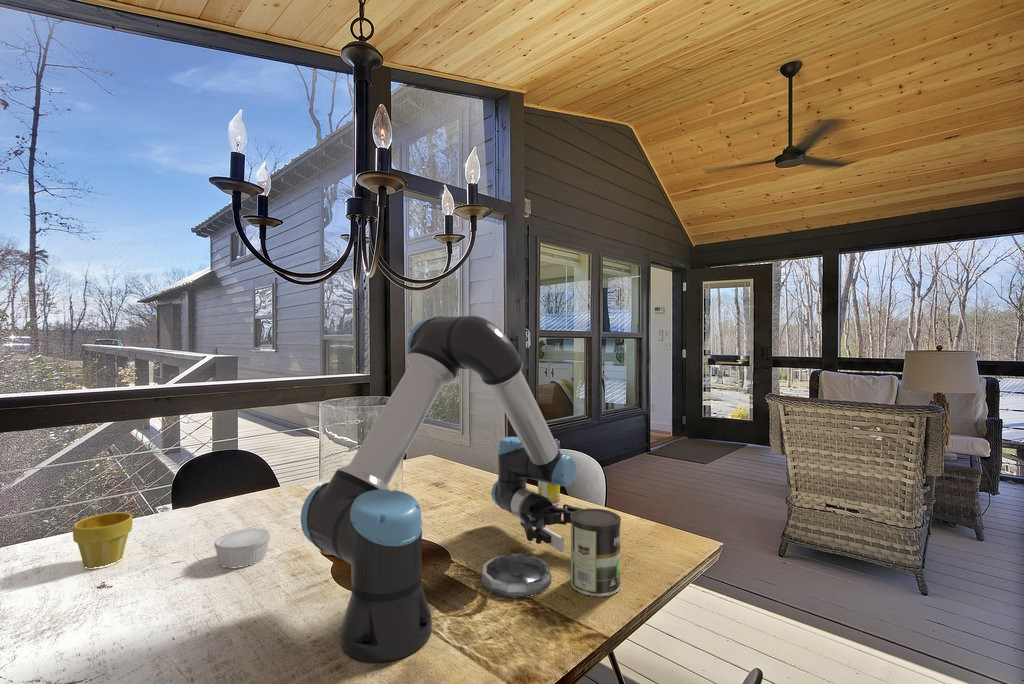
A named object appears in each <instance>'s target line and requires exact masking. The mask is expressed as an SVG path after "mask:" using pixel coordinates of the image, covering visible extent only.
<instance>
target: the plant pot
mask: <svg viewBox="0 0 1024 684" xmlns="http://www.w3.org/2000/svg"><path fill="white" fill-rule="evenodd" d="M132 529H133V514H132V513H129V512H125V511H124V512H123V511H115V512H106V513H101V514H94V515H92V516H89V517H86V518H85V517H84V518H83V519H80V520H78V521H76V523H74V524H73V526H72V539H73V542H74V543H76V544H77V546H78V549H79V553H80V557H81V561H82V564H83V567H84V566H85V567H87V568H94V567H100V566H105V565H108V564H111V563H114V562H117V561H118V560H120V559H121V558H122V559H123V555H124V551H125V548H126V544H127V540H128V536H129V533H130V532H131V531H132ZM122 559H121V560H122Z"/></svg>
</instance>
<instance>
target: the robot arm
mask: <svg viewBox="0 0 1024 684" xmlns="http://www.w3.org/2000/svg"><path fill="white" fill-rule="evenodd" d="M407 344H408V346H407V350H408V351H407V352H408V354H407V355H406V361H407V365H408V367H407V369H406V371H405V372H404V374H403V376H402V377H401V379H400V381H399V383H398V384H397V385H396V387H395V389H394V390H393V392H392V393H391V395H390V397H389V398H388V400H387V402H386V404H385V405H384V406H383V409H382V411H380V413H379V414H378V417H377V419H376V420H375V422H374V424H373V425H372V427H371V428H370V430H369V432H368V433H367V435H366V437H365V438H364V440H363V442H362V443H361V445H360V447H359V448H358V449H357V451H356V452H355V454H354V456H353V458H352V460H351V461H350V463H349V464H348V465H345V466H342V467H339V468H337V470H336V471H335V472H334V474H333V476H332V478H331V479H330V480H329V481H328V482H325V483H324V482H323V484H321V485H317V486H316V487H315V488H313V490H311V491H310V493H309V494H308V495H307V497H306V499H305V500H304V501H303V504H302V507H301V511H300V512H301V513H300V524H301V531H302V532H303V535H304V536H305V538H306V539H307V540H308V541H309V542H310V543H312V544H313V545H314V546H315V547H316V548H317V549H319V550H322V551H324V552H327V553H329V554H331V555H332V556H334V557H336V558H338V559H339V560H340V559H341V560H343V561H344V562H346V563H348V564H350V567H351V569H350V570H351V575H350V577H351V594H350V598H349V601H348V603H347V604H348V605H347V606H346V609H345V613H344V616H343V620H342V623H341V625H340V645H341V649H342V652H344V653H345V654H346V655H347V656H349V657H350V658H351V659H354V660H357V661H361V662H365V663H385V662H392V661H395V660H399V659H402V658H405V657H407V656H409V655H412V654H413V653H415V652H417V651H418V650H420V649H421V648H422V647H423V646H424V645H425V644H427V642H428V641H429V639H430V637H431V636H432V629H433V628H432V626H433V625H432V624H433V623H432V622H433V621H432V619H433V618H432V617H433V616H432V613H431V610H430V606H429V603H428V601H427V598H426V594H425V592H424V589H423V586H422V585H423V584H422V566H423V564H422V561H423V559H422V558H423V557H422V554H423V553H422V551H423V549H422V547H423V545H422V544H423V520H422V512H421V511H422V510H421V506H420V504H419V501H418V500H417V498H415V497H414V496H412V495H411V494H409V493H407V492H404V491H400V490H396V489H394V490H390V489H389V484H390V482H391V481H392V479H393V477H394V475H395V473H396V471H397V469H398V468H399V466H400V464H401V462H402V460H403V459H404V457H405V455H406V454H407V452H408V450H409V447H410V446H411V444H412V442H413V440H414V438H416V435H417V434H418V431H419V430H420V428H421V426H422V424H423V422H424V421H425V419H426V417H427V415H428V414H429V412H430V410H431V409H432V406H433V404H434V403H435V401H436V399H437V398H438V396H439V393H440V392H441V390H442V388H443V387H444V386H446V385H451V384H452V383H453V382H454V381H455V379H456V377H457V375H458V373H459V371H460V370H463V369H465V370H472V371H473V372H474V373H476V374H478V375H479V377H480V378H481V380H482V382H483V384H485V385H487V386H490V387H491V389H492V391H493V394H494V395H495V396H496V399H497V400H498V402H499V404H500V406H501V408H502V409H503V412H504V414H505V415H506V417H507V419H508V421H509V423H510V425H511V426H512V429H513V430H514V433H515V434H516V436H505V437H502V438H500V440H499V441H498V452H497V466H498V467H497V475H498V479H497V480H496V481H495V482H494V484H493V487H492V488H491V491H490V495H491V499H492V501H493V503H494V504H496V505H497V506H498V507H499V508H500V509H502V510H503V511H506V512H508V513H510V514H512V515H513V516H514V517H516V518H519V519H520V526H521V527H522V528H524V533H525V537H526V540H527V541H528V542H532V541H533V540H534V539H535V544H539V545H540V544H542V542H543V543H544V544H548V545H549V546H551V547H553V548H554V549H556V550H557V551H559V552H564V551H565V546H564V545H565V541H564V539H565V538H564V537H563V536H561V535H560V534H558V533H557V532H555V531H553V530H551V529H549V528H547V527H546V526H552V525H557V524H558V525H563V526H565V525H567V524H571V520H570V515H571V513H573V512H574V511H577V510H581V509H583V508H581V507H576V506H572V505H569V504H564V503H563V504H562V505H563V506H562V507H558V506H553V505H552V503H551V501H550V500H549V499H548V498H546V497H544V496H542V495H540V494H538V492H536V491H534V490H531V489H529V488H527V479H530V480H535V481H537V482H538V481H541V482H545V483H549V484H552V485H560V487H567V486H569V485H571V484H572V482H574V481H573V480H574V479H575V477H576V474H577V464H576V461H575V458H574V457H572V456H571V455H568V454H566V453H563V454H562V452H561V450H560V449H559V447H558V444H557V442H556V441H555V438H554V436H553V434H552V432H551V430H550V428H549V426H548V424H547V421H546V419H545V417H544V416H543V413H542V411H541V409H540V407H539V405H538V403H537V401H536V399H535V397H534V394H533V392H532V391H531V388H530V386H529V384H528V382H527V380H526V377H525V376H524V374H523V372H522V369H523V367H524V364H523V360H522V359H521V356H520V355H519V353H518V351H517V349H516V348H515V346H514V344H513V343H512V342H511V340H510V338H508V336H507V335H506V334H505V333H504V332H503V331H502V330H501V329H500V328H499V327H498V326H497V325H495V323H493V322H491V321H490V320H489V319H486V318H484V317H481V316H479V315H465V316H464V315H463V316H462V315H461V316H441V315H439V316H437V315H436V316H433V317H428V318H425V319H423V320H420V321H418V323H417V324H416V325H414V327H413V328H412V330H411V331H410V333H409V336H408V340H407ZM562 515H563V517H562ZM562 518H563V520H562ZM534 528H535V529H534Z"/></svg>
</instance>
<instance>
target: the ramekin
mask: <svg viewBox="0 0 1024 684" xmlns="http://www.w3.org/2000/svg"><path fill="white" fill-rule="evenodd" d="M270 538H271V534H270V531H269V530H268V529H264V528H260V527H259V528H258V527H255V528H253V527H252V528H244V529H238V530H235V531H234V530H233V531H231V532H228V533H225V534H223V535H220V536H219V537H218V538H216V539H215V541H214V544H213V545H214V549H215V551H216V558H217V561H218V564H219V565H220V566H221V565H222V566H221V567H223V566H225V567H239V566H246V565H250V564H253V563H255V562H257V563H259V562H261V561H262V560H264V558H265V556H266V555H267V552H268V546H269V540H270ZM261 559H262V560H261ZM260 560H261V561H260ZM258 561H259V562H258ZM255 564H256V563H255ZM253 565H254V564H253ZM250 566H251V565H250ZM225 567H224V568H225Z"/></svg>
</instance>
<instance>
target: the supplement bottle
mask: <svg viewBox="0 0 1024 684" xmlns="http://www.w3.org/2000/svg"><path fill="white" fill-rule="evenodd" d="M560 489H561V486H560V485H552V484H549V483H545V482H541V481H537V493H538V494H540V495H542V496H544V497H546V498H548V499H549V500H550V501H551V503H552V505H553V506H555V507H558V506H559V505H560V504H561V503H560V502H561V496H560V495H561V493H560V492H561V490H560Z"/></svg>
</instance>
